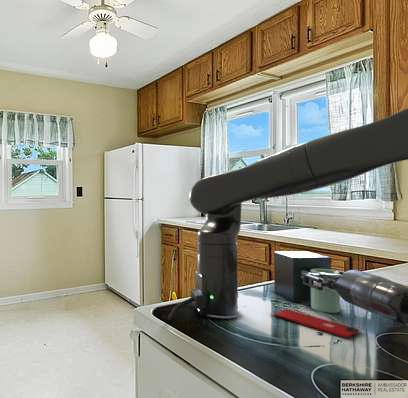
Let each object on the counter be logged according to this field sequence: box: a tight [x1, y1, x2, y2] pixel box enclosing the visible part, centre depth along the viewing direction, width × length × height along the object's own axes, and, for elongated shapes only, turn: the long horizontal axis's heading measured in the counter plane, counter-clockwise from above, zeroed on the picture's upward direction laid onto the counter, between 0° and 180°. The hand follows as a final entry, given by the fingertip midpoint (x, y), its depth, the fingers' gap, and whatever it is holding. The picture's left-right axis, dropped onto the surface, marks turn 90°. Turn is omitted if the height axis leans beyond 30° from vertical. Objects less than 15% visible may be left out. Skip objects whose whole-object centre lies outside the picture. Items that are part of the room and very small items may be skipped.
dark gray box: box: [273, 251, 333, 303], centre depth 91 cm, size 12×10×12 cm
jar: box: [310, 269, 341, 314], centre depth 81 cm, size 6×6×10 cm
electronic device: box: [273, 308, 360, 339], centre depth 71 cm, size 6×1×15 cm
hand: (319, 274), depth 83 cm, fingers open, 8 cm apart
